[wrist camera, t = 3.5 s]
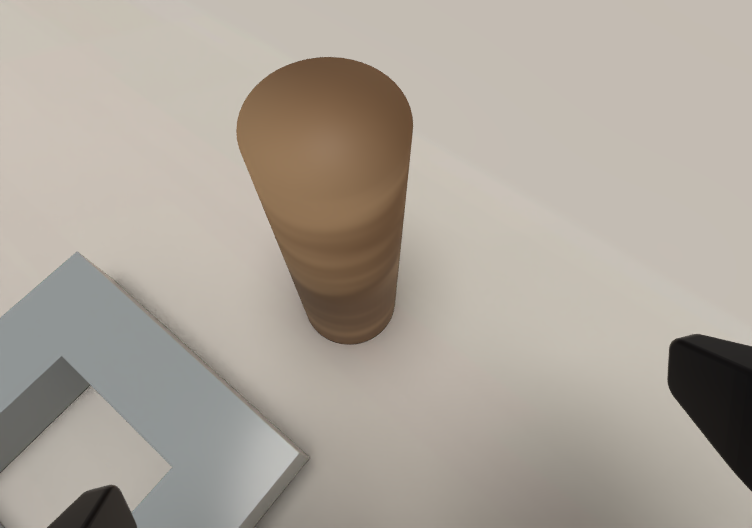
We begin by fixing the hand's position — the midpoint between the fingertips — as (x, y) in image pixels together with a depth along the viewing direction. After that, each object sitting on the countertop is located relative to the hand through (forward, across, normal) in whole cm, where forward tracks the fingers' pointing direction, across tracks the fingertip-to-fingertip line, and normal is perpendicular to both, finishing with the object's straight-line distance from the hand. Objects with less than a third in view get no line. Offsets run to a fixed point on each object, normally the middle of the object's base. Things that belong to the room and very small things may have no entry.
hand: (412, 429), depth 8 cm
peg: (+14, 0, +4) cm, 15 cm away
